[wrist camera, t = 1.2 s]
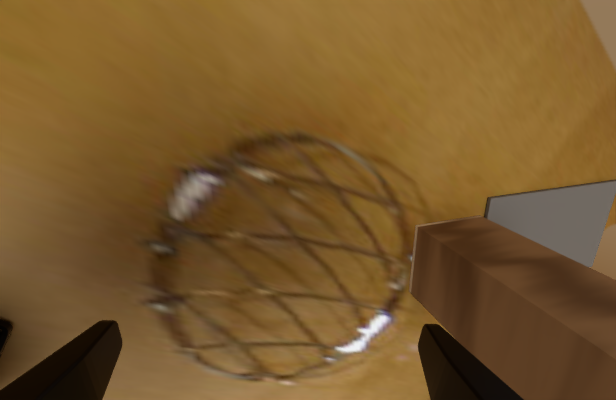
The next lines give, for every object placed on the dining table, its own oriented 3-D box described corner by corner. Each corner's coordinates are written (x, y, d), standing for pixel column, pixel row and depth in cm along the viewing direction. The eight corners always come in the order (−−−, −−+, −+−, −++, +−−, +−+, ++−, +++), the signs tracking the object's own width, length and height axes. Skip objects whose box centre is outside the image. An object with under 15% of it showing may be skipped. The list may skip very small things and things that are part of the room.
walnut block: (408, 291, 27) (589, 474, 14) (415, 225, 25) (633, 371, 12) (468, 278, 28) (678, 433, 16) (479, 215, 26) (731, 335, 14)
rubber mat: (470, 291, 29) (473, 293, 29) (487, 197, 26) (491, 198, 26) (588, 264, 33) (592, 266, 33) (615, 179, 30) (619, 180, 29)
